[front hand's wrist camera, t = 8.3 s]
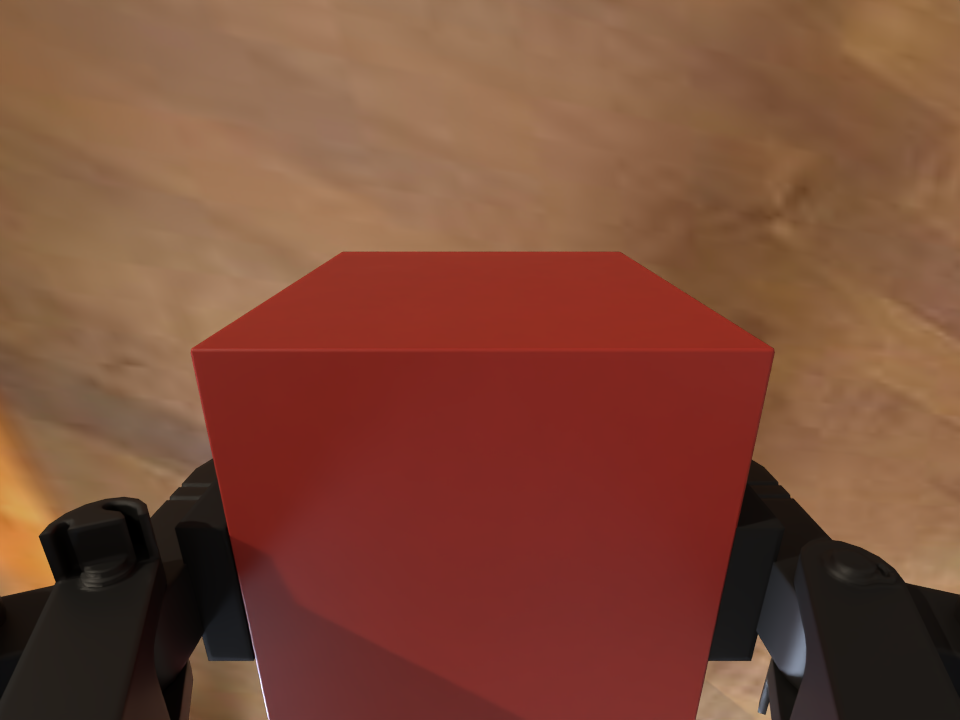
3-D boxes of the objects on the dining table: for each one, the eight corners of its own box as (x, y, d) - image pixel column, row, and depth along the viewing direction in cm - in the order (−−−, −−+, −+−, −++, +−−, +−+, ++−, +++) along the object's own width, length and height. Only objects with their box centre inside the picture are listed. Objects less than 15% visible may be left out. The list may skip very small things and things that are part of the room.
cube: (597, 503, 17) (686, 765, 10) (365, 503, 17) (276, 765, 10) (621, 251, 14) (777, 349, 7) (341, 251, 14) (188, 348, 7)
